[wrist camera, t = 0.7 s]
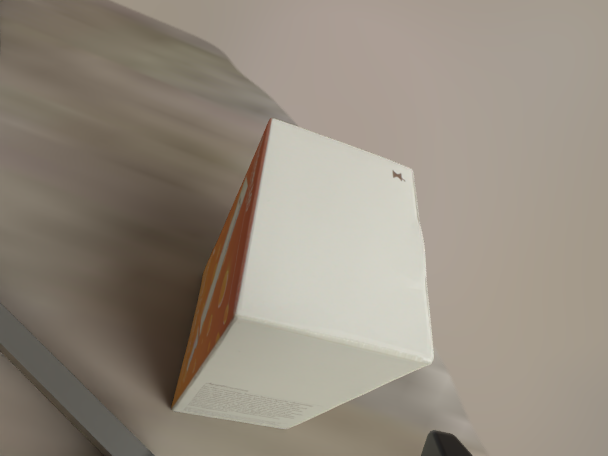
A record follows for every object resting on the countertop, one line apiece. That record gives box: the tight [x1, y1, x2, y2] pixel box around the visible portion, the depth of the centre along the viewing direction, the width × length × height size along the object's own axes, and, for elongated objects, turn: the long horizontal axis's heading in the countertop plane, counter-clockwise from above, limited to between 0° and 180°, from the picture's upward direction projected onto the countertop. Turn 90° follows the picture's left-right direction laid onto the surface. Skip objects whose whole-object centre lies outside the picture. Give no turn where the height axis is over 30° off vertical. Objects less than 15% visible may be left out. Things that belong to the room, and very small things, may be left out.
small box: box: [171, 118, 434, 429], centre depth 19 cm, size 8×6×13 cm
